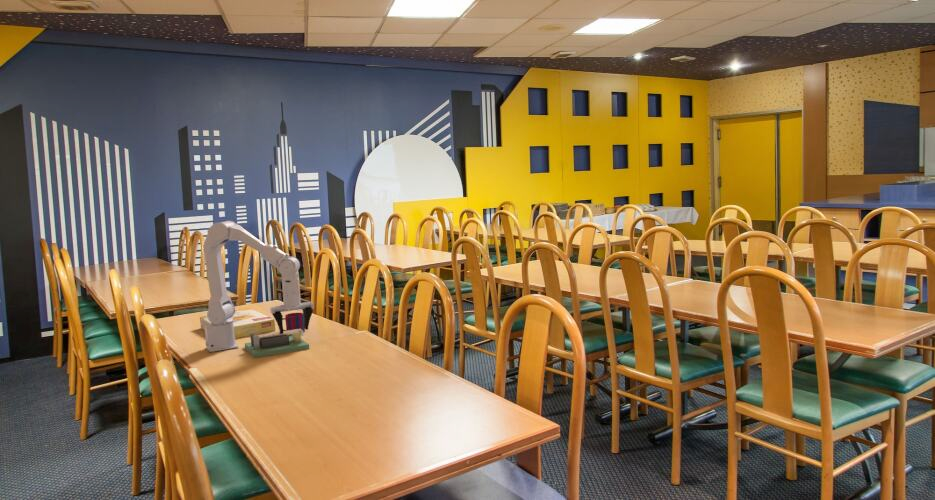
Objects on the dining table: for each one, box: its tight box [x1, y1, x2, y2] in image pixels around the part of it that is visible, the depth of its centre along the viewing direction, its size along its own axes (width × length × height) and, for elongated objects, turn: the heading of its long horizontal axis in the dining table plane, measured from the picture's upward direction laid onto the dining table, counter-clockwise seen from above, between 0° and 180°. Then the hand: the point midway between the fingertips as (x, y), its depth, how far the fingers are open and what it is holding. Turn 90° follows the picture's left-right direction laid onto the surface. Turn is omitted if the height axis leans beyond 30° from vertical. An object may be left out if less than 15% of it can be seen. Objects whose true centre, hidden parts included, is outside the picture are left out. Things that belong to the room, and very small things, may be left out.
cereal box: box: [199, 307, 276, 339], centre depth 254 cm, size 20×6×28 cm
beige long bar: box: [254, 329, 304, 339], centre depth 223 cm, size 16×4×2 cm, turn 119°
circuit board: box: [244, 335, 310, 359], centre depth 223 cm, size 18×16×2 cm
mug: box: [282, 312, 306, 333], centre depth 244 cm, size 7×10×7 cm
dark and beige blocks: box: [249, 332, 302, 350], centre depth 223 cm, size 16×8×4 cm, turn 119°
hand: (294, 330), depth 226 cm, fingers open, 7 cm apart
